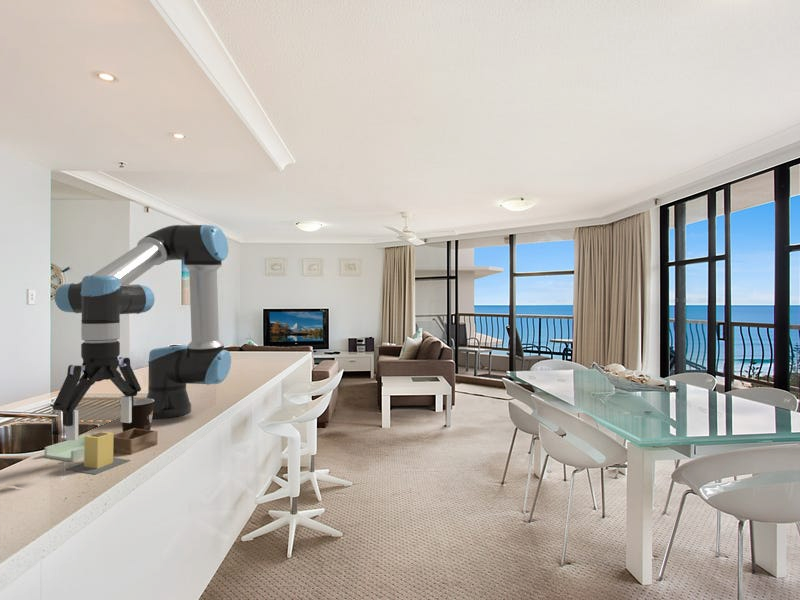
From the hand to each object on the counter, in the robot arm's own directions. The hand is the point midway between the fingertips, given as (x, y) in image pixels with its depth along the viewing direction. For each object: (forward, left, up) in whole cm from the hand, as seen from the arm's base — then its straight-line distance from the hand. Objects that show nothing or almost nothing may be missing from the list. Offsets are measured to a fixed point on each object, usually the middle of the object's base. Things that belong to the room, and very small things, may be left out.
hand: (100, 430), depth 104 cm
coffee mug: (-22, -11, -9) cm, 26 cm away
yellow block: (0, 0, -8) cm, 8 cm away
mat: (0, 0, -8) cm, 8 cm away
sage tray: (-6, -12, -8) cm, 16 cm away
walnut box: (-12, -3, -8) cm, 15 cm away
